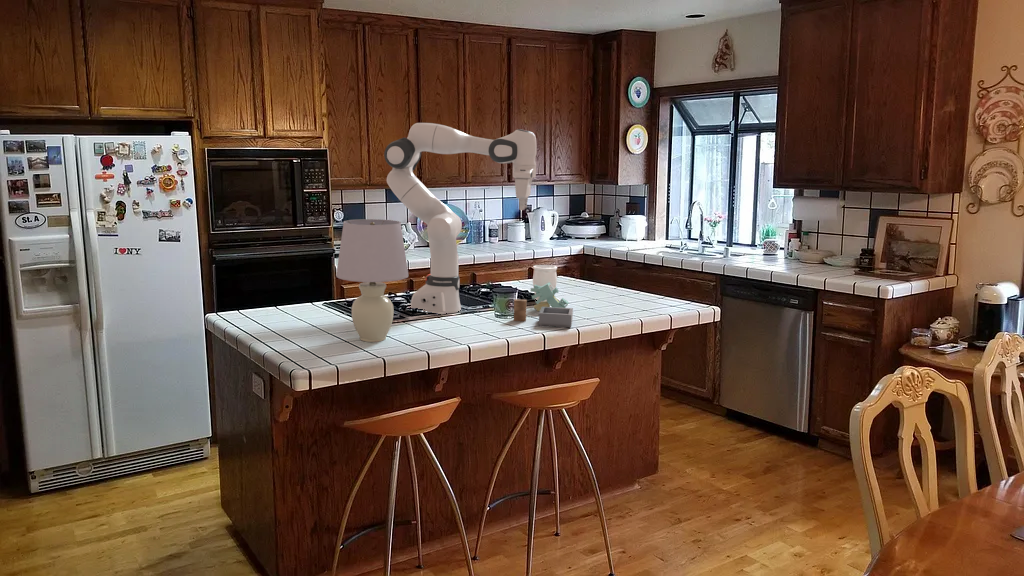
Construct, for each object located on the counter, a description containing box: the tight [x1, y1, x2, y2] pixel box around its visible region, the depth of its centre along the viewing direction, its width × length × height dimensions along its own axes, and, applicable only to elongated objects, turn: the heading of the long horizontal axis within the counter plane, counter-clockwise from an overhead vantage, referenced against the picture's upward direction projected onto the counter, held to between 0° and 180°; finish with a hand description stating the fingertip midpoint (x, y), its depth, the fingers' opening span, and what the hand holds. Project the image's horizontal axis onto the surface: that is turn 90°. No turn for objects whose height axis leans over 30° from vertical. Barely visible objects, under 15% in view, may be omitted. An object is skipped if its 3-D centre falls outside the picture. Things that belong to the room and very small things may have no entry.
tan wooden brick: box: [513, 298, 528, 322], centre depth 300 cm, size 4×2×8 cm, turn 83°
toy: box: [530, 282, 570, 312], centre depth 319 cm, size 10×13×15 cm
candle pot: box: [538, 306, 574, 328], centre depth 296 cm, size 12×12×5 cm
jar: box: [532, 264, 558, 302], centre depth 338 cm, size 11×10×15 cm
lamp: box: [335, 218, 409, 343], centre depth 263 cm, size 24×24×40 cm
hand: (523, 209), depth 301 cm, fingers open, 8 cm apart
